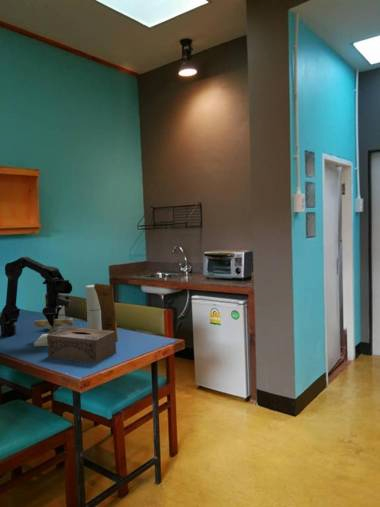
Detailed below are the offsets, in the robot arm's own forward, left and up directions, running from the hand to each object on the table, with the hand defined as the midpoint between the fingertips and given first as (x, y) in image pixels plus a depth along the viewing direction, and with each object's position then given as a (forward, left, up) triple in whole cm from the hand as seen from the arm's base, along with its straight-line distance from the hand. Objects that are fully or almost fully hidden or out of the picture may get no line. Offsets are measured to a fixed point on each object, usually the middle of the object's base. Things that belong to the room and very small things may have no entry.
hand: (54, 323), depth 200 cm
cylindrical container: (+18, +12, -9) cm, 23 cm away
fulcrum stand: (0, 0, -8) cm, 8 cm away
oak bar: (0, 0, -1) cm, 1 cm away
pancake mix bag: (+27, -2, -9) cm, 28 cm away
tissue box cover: (+18, -25, -9) cm, 32 cm away
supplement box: (-5, +25, -9) cm, 27 cm away
